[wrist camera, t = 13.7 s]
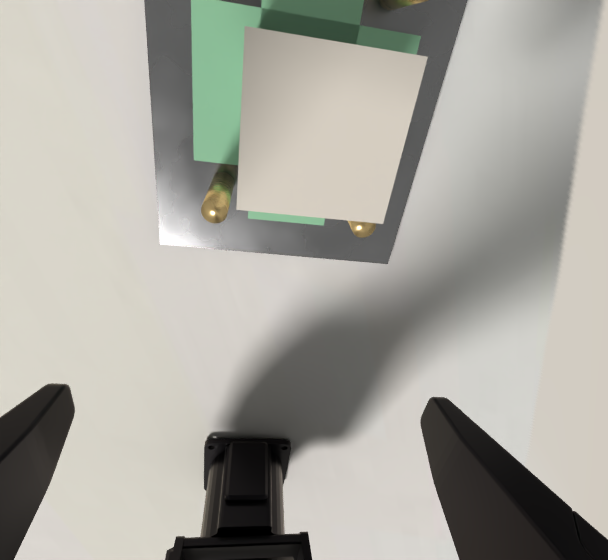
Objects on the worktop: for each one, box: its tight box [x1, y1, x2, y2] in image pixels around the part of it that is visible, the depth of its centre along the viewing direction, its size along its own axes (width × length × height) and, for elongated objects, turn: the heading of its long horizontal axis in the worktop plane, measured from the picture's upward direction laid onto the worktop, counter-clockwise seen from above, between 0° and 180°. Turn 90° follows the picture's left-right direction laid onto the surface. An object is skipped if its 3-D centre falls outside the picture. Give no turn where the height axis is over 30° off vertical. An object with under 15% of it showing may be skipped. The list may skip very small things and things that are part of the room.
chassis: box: [144, 0, 467, 264], centre depth 14 cm, size 15×12×4 cm
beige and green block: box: [191, 0, 428, 226], centre depth 12 cm, size 10×8×8 cm
